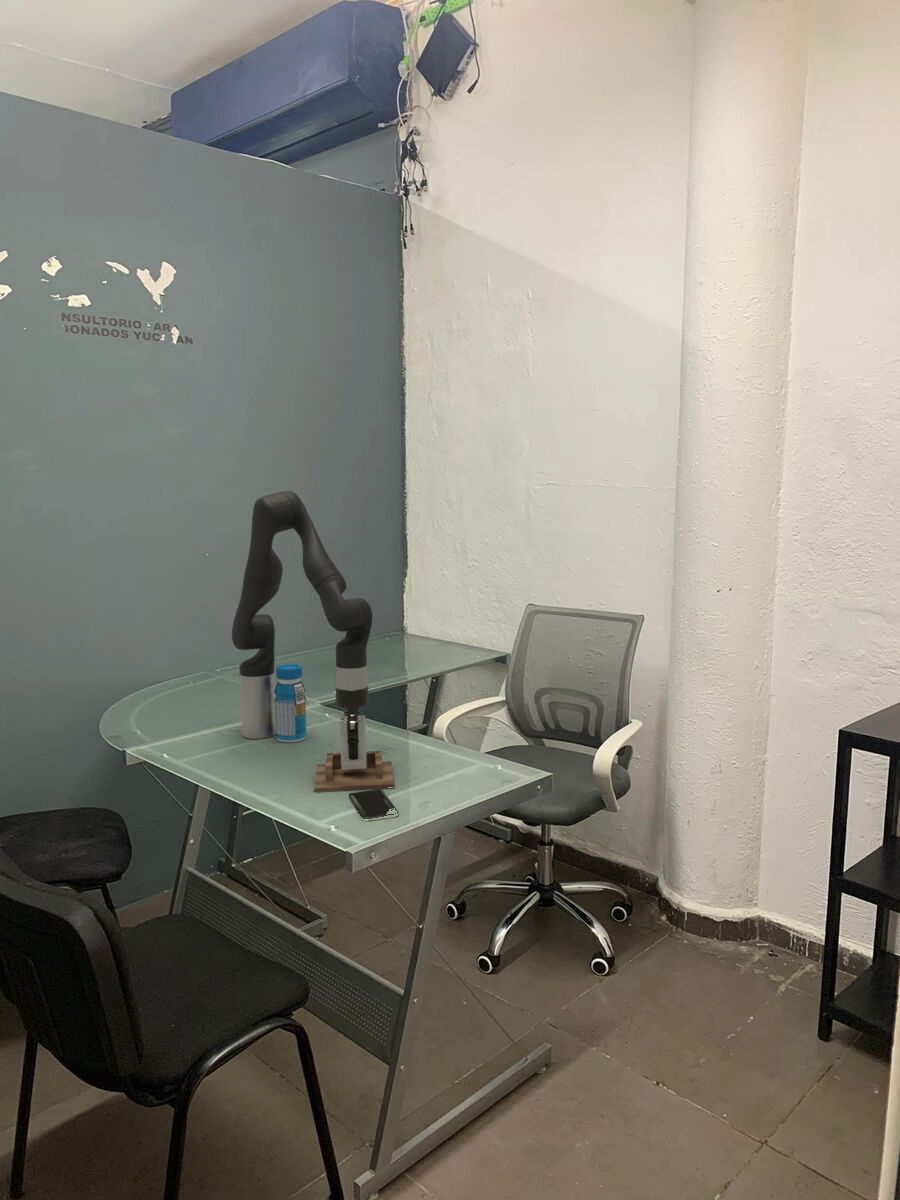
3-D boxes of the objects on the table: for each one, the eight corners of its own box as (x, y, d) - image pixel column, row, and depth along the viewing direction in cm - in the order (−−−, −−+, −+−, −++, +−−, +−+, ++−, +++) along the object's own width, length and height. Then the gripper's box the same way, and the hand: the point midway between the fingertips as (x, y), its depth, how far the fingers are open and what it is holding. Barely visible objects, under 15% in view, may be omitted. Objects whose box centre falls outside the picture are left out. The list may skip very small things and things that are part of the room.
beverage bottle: (276, 744, 229) (274, 670, 226) (274, 735, 237) (271, 664, 234) (308, 741, 231) (306, 668, 228) (305, 732, 239) (303, 662, 236)
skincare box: (366, 763, 206) (365, 713, 204) (366, 769, 201) (365, 719, 199) (340, 764, 205) (339, 714, 203) (340, 770, 201) (338, 720, 199)
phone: (363, 818, 178) (347, 793, 192) (363, 823, 178) (347, 797, 192) (400, 813, 180) (382, 788, 194) (400, 818, 180) (382, 793, 194)
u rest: (317, 768, 210) (316, 750, 210) (391, 765, 212) (391, 747, 212) (314, 792, 195) (313, 772, 194) (394, 788, 197) (394, 769, 196)
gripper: (336, 678, 207) (338, 747, 209) (334, 692, 193) (336, 766, 195) (367, 677, 208) (369, 745, 210) (368, 691, 194) (370, 765, 196)
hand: (353, 755), depth 203 cm, fingers closed on skincare box, 4 cm apart
